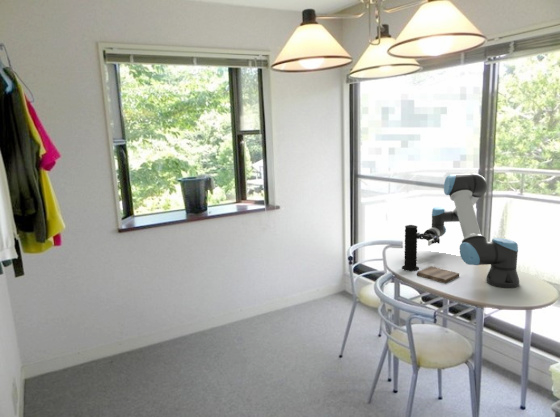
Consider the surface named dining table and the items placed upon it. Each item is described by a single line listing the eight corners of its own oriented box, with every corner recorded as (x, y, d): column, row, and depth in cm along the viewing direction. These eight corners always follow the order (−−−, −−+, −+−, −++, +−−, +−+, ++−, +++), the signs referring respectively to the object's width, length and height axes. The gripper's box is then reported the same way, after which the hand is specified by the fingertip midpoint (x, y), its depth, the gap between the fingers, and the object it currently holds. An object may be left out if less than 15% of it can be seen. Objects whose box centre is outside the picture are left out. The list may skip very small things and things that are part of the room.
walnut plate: (459, 276, 219) (459, 273, 219) (445, 283, 211) (445, 279, 211) (431, 269, 233) (431, 266, 232) (417, 275, 224) (417, 271, 224)
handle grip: (421, 271, 231) (417, 265, 241) (422, 226, 226) (418, 222, 236) (403, 271, 232) (400, 265, 242) (404, 226, 227) (400, 223, 237)
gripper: (451, 242, 249) (438, 251, 233) (412, 237, 265) (398, 244, 250) (451, 231, 247) (438, 238, 232) (413, 226, 264) (398, 232, 248)
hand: (417, 241), depth 241 cm, fingers open, 13 cm apart
